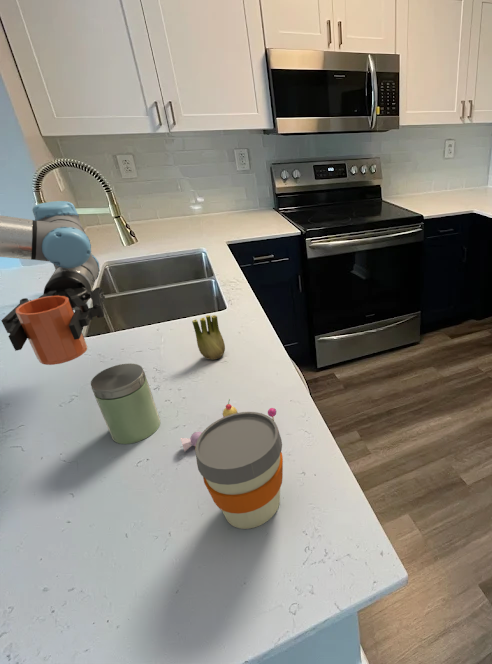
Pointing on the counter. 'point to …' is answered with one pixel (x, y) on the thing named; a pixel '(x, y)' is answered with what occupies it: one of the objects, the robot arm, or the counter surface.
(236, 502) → the reusable coffee cup
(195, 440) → the candy
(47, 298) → the cup
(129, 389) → the jar lid
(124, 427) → the jar
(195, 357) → the counter surface
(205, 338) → the fennel bulb
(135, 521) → the counter surface
